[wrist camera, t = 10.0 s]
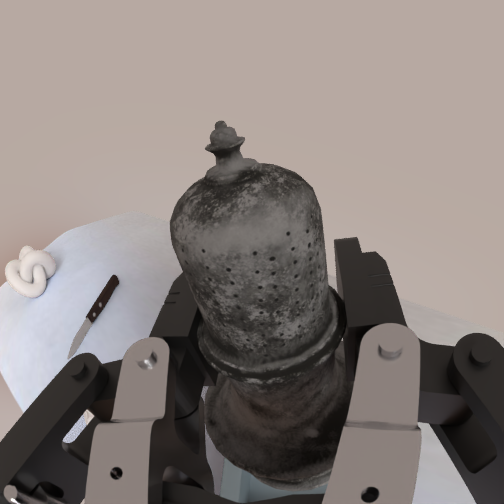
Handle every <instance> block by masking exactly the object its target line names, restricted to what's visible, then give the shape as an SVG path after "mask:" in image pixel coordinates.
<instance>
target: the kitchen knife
mask: <svg viewBox="0 0 504 504" xmlns="http://www.w3.org/2000/svg"><path fill="white" fill-rule="evenodd" d="M118 284H119V280H118V278H117V276H116V275H112V277H111V278H110V280H109V281H108V283H107V284H106V286H105V287H104V289H103V290H102V292H101V294H100V295H99V297H98V298H97V300H96V301H95V303H94V305H93V306H92V308H91V309H90V311H89V313H88V314H87V316H86V320H85V321H84V323H83V325H82V326H81V328H80V329H79V331H78V333H77V334H76V336H75V338H74V340H73V342H72V345H71V348H70V351H69V355H68V359H69V358H71V357H72V356H73V355H74V353H75V352H76V351H77V349H78V348H79V346H80V344H81V343H82V341H83V339H84V337H85V336H86V334H87V332H88V331H89V329H90V327H91V326H92V324H93V321H94V320H95V319H96V318H97V316H98V315H99V314H100V313H101V311H102V310H103V308H104V307H105V305H106V304H107V302H108V300H109V299H110V297H111V294H112V292H113V290H114V289H115V287H116V286H117V285H118Z"/></svg>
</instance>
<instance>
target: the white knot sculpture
mask: <svg viewBox="0 0 504 504" xmlns="http://www.w3.org/2000/svg"><path fill="white" fill-rule="evenodd" d="M55 271H56V263H55V260H54V259H53V257H52V256H51V255H50V254H49V253H47V252H45V251H42V250H35V249H34V248H33V247H31V246H24V247H23V248H22V249H21V251H20V254H19V260H12V261H10V262H8V264H7V266H6V268H5V275H6V279H7V281H8V283H9V285H10V286H11V287H12V288H13V289H14V290H15V291H16V292H18V293H19V294H21V295H23V296H25V297H29V298H35V297H38V296H40V295H41V294H42V293H43V292H44V290H45V288H46V279H49V278H50V277H52V276H53V274H54V273H55ZM18 273H19V275H18ZM33 279H34V283H33Z"/></svg>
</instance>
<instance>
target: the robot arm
mask: <svg viewBox="0 0 504 504" xmlns="http://www.w3.org/2000/svg"><path fill="white" fill-rule="evenodd" d="M334 248H335V262H336V278H337V290H338V295H339V296H340V297H341V299H342V300H343V303H344V310H345V318H346V329H345V333H344V335H343V344H344V355H345V366H346V379H347V382H352V381H354V386H353V392H352V397H351V402H350V406H349V411H348V416H347V420H346V423H345V424H344V427H343V431H342V434H341V438H340V442H339V446H338V450H337V454H336V457H335V461H334V465H333V468H332V472H331V475H330V479H329V482H328V485H327V489H326V492H325V493H323V494H292V495H287V496H282V497H277V498H272V499H267V500H261V501H255V502H248V503H238V502H235V501H232V500H229V499H226V498H223V497H221V496H218V495H215V494H214V481H213V475H212V472H211V469H210V466H209V464H208V462H207V458H206V445H205V418H204V401H203V399H202V397H201V393H202V389H203V386H216V382H217V378H218V374H219V372H218V371H217V370H215V369H214V368H213V367H212V366H211V365H209V364H208V363H207V361H206V359H205V358H204V356H203V354H202V353H201V351H200V349H199V345H198V339H197V331H198V327H199V323H200V320H201V317H202V314H201V312H200V310H199V308H198V305H197V303H196V301H195V298H194V296H193V294H192V291H191V289H190V287H189V284H188V282H187V280H186V277H185V275H184V273H182V274H181V275H180V276H179V277H178V278H177V279H176V280H175V281H174V282H173V284H172V286H171V289H170V291H169V295H167V297H166V300H165V302H164V303H165V304H164V305H163V306H162V308H161V311H160V313H159V315H158V317H157V320H156V322H155V324H154V326H153V329H152V331H151V333H150V336H149V338H144V339H142V340H140V341H138V342H136V343H135V344H133V345H132V346H131V347H130V348H129V349H128V350H127V352H126V353H125V355H124V358H123V359H122V360H118V361H113V362H109V363H105V364H102V363H101V362H100V361H99V360H98V358H97V357H96V356H95V355H93V354H91V353H82V354H79V355H77V356H75V357H74V358H72V359H71V360H70V361H69V362H68V363H67V364H66V365H65V366H64V367H63V369H62V370H61V371H60V372H59V373H58V374H57V375H56V376H55V378H54V379H53V380H52V381H51V382H50V383H49V384H48V386H47V387H46V388H45V389H44V390H43V391H42V392H41V394H40V395H39V396H38V397H37V398H36V399H35V401H34V402H33V403H32V404H31V405H30V406H29V408H28V409H27V410H26V411H25V412H24V414H23V415H22V416H21V417H20V419H19V420H18V421H17V422H16V423H15V425H14V426H13V427H12V428H11V430H10V431H9V432H8V433H7V434H6V436H5V437H4V438H3V439H2V441H1V442H0V504H80V503H81V502H82V500H83V499H84V498H85V504H412V500H413V495H414V489H415V484H416V478H417V472H418V465H419V457H420V449H421V429H420V428H419V427H418V424H417V422H422V423H429V424H430V426H431V428H432V429H433V431H434V432H435V434H436V436H437V437H438V439H439V440H440V442H441V444H442V445H443V447H444V449H445V450H446V452H447V453H448V455H449V457H450V458H451V460H452V462H453V463H454V465H455V467H456V468H457V470H458V472H459V474H460V475H461V477H462V479H463V480H464V482H465V484H466V486H467V487H468V489H469V491H470V493H471V494H472V496H473V498H474V500H475V501H476V503H477V504H504V348H503V347H502V346H501V345H500V343H499V342H498V341H497V340H495V339H494V338H493V337H491V336H489V335H486V334H482V333H472V334H468V335H466V336H464V337H463V338H461V339H460V340H459V341H458V342H457V344H456V346H446V345H437V344H431V343H427V342H425V341H423V340H420V339H419V338H418V337H417V336H416V334H415V333H414V332H413V331H412V330H411V329H409V328H408V327H407V324H406V322H405V318H404V315H403V312H402V308H401V305H400V302H399V299H398V296H397V293H396V289H395V286H394V285H393V280H392V278H391V275H390V272H389V269H388V266H387V264H386V261H385V260H384V259H383V258H382V257H381V256H380V255H379V254H378V253H377V252H366V253H362V251H361V248H360V244H359V241H358V238H357V237H353V238H344V239H335V240H334ZM86 410H88V411H89V412H91V413H92V414H93V415H94V417H93V418H92V420H91V421H90V422H89V423H88V425H87V426H86V427H85V428H84V430H83V431H82V432H81V433H80V435H79V436H78V437H77V438H76V439H75V441H73V442H71V443H65V442H63V441H62V440H63V438H64V437H65V436H66V434H67V433H68V432H69V431H70V429H71V428H72V427H73V426H74V424H75V423H76V422H77V421H78V420H79V418H80V417H81V416H82V415H83V414H84V412H85V411H86Z"/></svg>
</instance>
